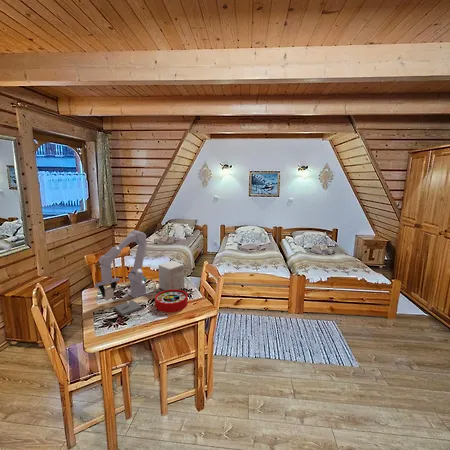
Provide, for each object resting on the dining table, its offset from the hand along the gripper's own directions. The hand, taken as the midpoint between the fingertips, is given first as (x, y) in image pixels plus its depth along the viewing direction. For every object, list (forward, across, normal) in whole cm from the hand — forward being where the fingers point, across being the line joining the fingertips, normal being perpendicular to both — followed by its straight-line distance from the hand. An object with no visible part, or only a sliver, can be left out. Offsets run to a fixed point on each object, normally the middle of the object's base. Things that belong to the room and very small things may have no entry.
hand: (108, 295), depth 162 cm
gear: (+7, -29, -16) cm, 34 cm away
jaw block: (+2, 0, 0) cm, 2 cm away
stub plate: (+6, -6, +14) cm, 16 cm away
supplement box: (+7, -43, +6) cm, 44 cm away
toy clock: (+7, -28, +28) cm, 40 cm away
